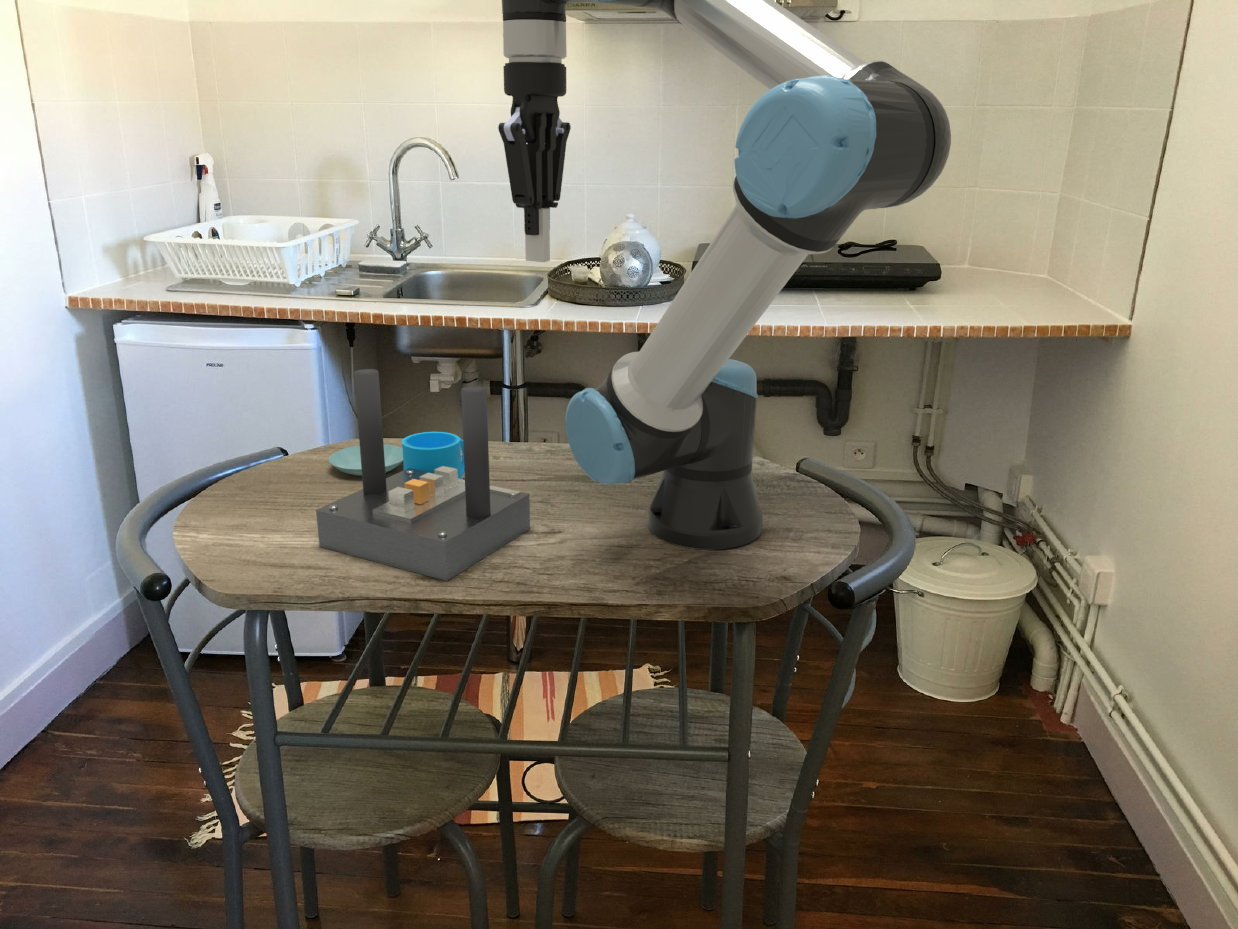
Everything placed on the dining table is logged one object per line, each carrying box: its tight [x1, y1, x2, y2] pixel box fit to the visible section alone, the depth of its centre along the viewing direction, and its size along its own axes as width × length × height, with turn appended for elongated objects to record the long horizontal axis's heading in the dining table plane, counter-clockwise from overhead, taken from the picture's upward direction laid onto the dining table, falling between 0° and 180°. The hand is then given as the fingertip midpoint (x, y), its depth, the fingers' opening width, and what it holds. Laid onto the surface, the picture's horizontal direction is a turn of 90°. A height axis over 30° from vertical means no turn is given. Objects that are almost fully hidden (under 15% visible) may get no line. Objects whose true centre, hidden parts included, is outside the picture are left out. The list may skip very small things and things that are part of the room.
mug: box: [401, 431, 465, 479], centre depth 146 cm, size 12×8×8 cm
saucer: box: [328, 443, 403, 477], centre depth 155 cm, size 12×12×2 cm
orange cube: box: [404, 479, 430, 504], centre depth 127 cm, size 2×2×2 cm
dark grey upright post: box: [353, 368, 387, 494], centre depth 130 cm, size 3×3×16 cm
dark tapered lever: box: [460, 385, 491, 519], centre depth 123 cm, size 3×3×16 cm
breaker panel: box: [315, 466, 531, 582], centre depth 130 cm, size 20×18×8 cm
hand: (537, 260), depth 128 cm, fingers closed
